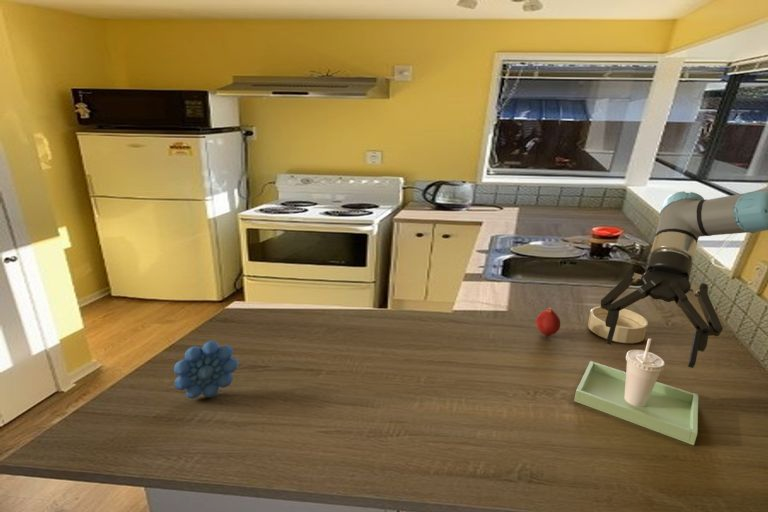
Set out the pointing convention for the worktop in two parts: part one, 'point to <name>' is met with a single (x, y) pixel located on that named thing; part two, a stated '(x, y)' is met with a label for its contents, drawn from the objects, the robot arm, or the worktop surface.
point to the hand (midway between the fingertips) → (648, 353)
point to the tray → (661, 413)
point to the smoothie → (641, 375)
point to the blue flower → (205, 369)
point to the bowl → (619, 325)
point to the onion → (548, 322)
